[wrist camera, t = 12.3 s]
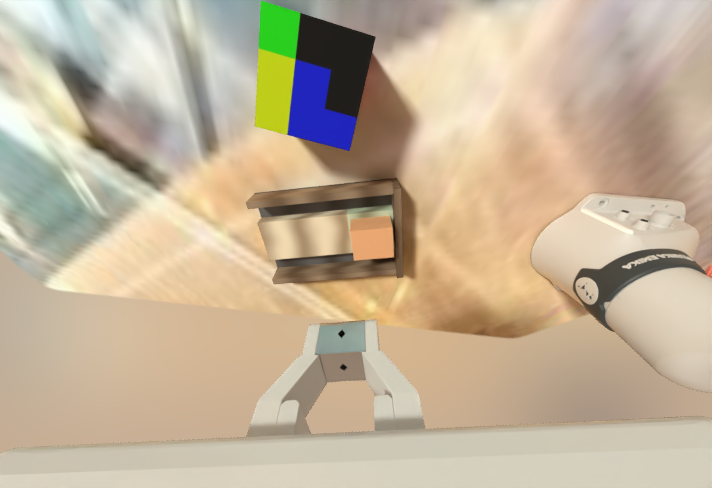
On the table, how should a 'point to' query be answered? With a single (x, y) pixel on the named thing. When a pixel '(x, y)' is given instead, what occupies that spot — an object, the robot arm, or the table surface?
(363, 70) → the puzzle toy
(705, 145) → the table surface
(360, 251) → the block
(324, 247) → the box
